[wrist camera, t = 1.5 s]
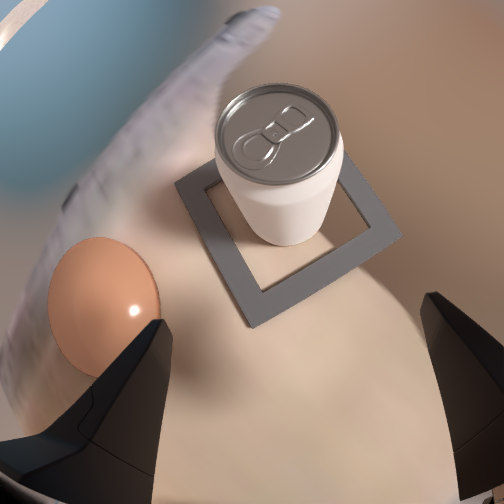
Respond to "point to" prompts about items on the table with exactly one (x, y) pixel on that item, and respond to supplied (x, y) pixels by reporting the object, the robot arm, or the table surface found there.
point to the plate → (100, 302)
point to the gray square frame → (310, 278)
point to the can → (279, 159)
